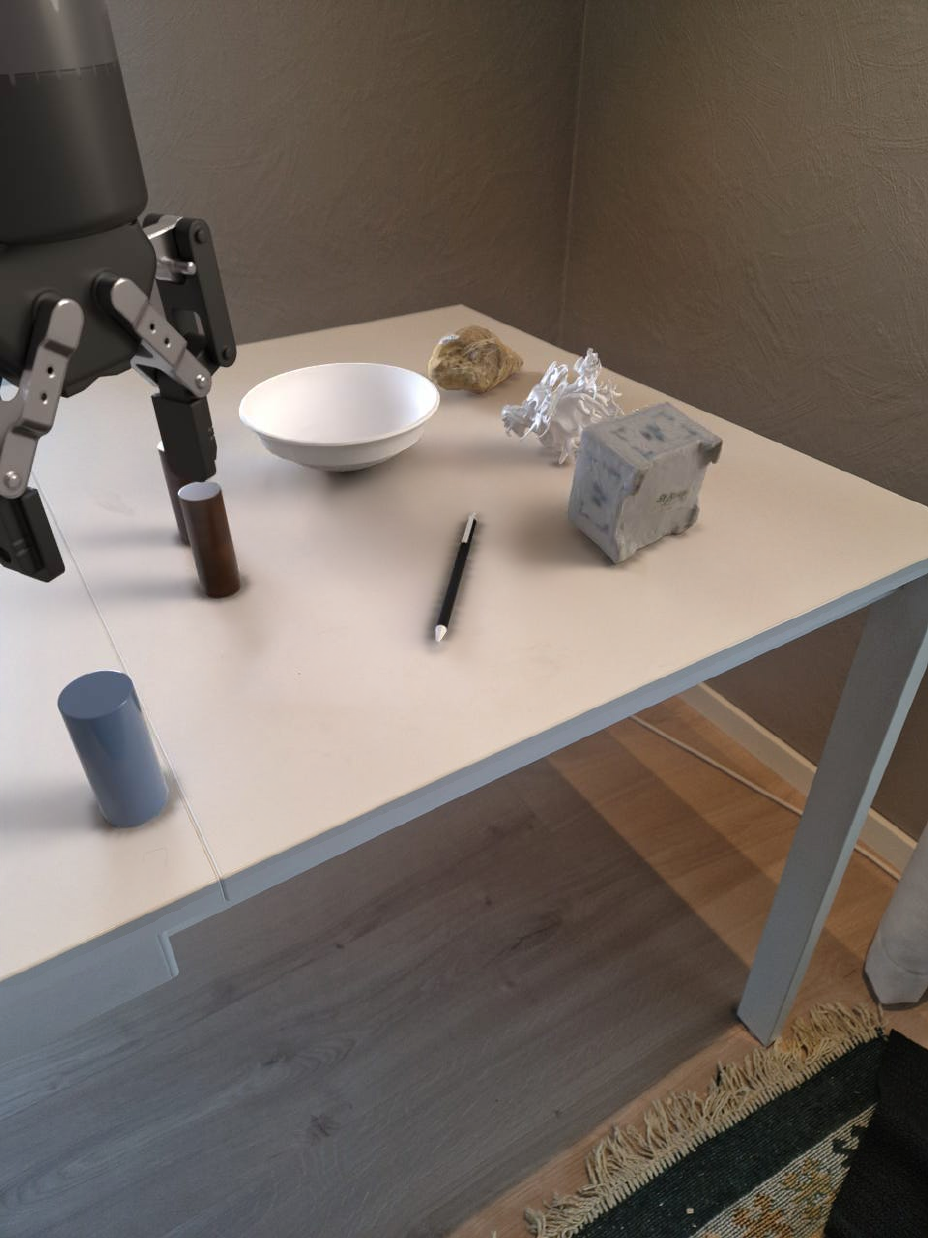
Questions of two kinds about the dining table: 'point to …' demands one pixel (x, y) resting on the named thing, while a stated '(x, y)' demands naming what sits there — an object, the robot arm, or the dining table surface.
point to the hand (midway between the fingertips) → (123, 521)
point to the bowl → (340, 414)
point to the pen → (455, 578)
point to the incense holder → (640, 478)
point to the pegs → (204, 531)
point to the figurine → (563, 407)
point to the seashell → (472, 360)
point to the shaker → (114, 747)
